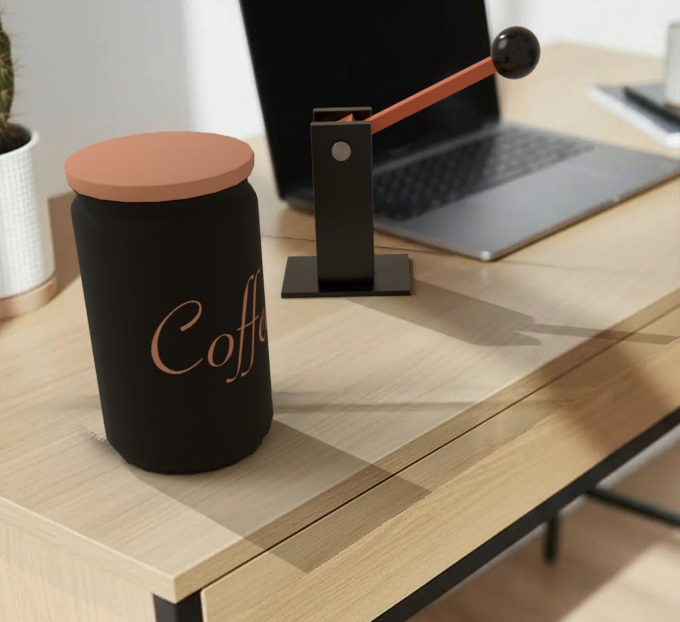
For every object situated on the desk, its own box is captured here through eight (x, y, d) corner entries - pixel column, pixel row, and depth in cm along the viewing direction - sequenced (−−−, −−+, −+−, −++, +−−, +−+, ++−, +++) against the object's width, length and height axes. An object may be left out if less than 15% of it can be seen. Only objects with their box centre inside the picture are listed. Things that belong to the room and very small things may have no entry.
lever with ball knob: (545, 59, 89) (526, 12, 87) (550, 70, 86) (531, 22, 84) (337, 162, 93) (315, 120, 91) (336, 176, 90) (313, 133, 88)
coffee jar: (169, 500, 70) (130, 199, 61) (75, 438, 77) (27, 158, 68) (308, 438, 76) (293, 154, 67) (209, 385, 83) (182, 120, 73)
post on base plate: (408, 270, 100) (407, 100, 93) (410, 308, 93) (409, 128, 86) (288, 273, 100) (278, 104, 93) (281, 311, 94) (270, 132, 86)
